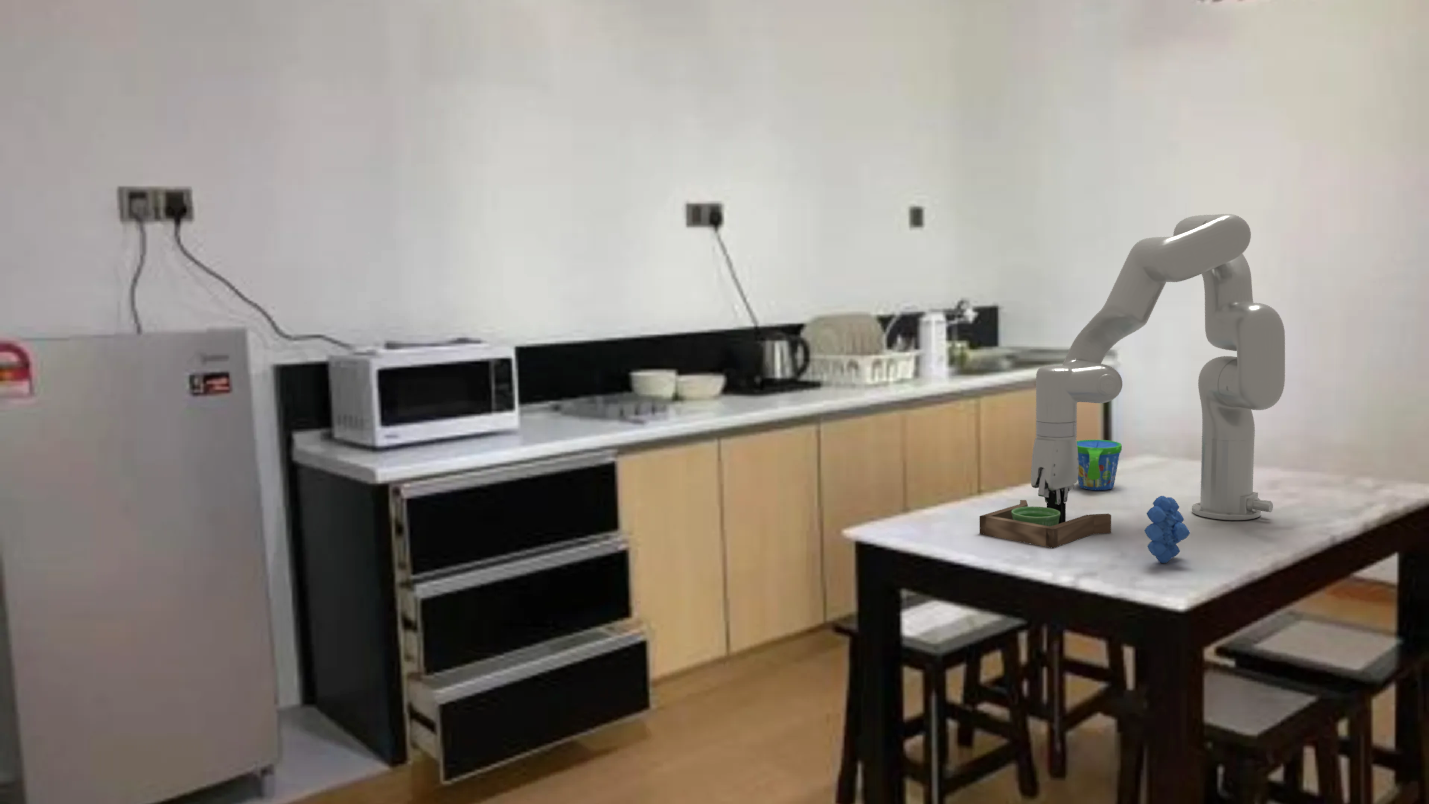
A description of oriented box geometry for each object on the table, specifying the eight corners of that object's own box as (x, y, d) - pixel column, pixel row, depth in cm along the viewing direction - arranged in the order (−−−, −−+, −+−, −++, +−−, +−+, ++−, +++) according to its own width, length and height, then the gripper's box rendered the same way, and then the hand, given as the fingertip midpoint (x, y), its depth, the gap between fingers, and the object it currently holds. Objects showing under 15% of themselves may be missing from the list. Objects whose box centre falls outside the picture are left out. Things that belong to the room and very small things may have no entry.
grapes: (1175, 575, 188) (1176, 504, 186) (1135, 568, 193) (1136, 498, 191) (1202, 559, 196) (1204, 491, 195) (1163, 553, 201) (1165, 486, 199)
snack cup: (1114, 496, 246) (1115, 450, 245) (1064, 493, 251) (1065, 447, 250) (1126, 482, 260) (1127, 438, 259) (1079, 479, 265) (1079, 436, 264)
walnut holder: (1112, 532, 216) (1113, 514, 216) (1062, 550, 205) (1063, 531, 205) (1022, 516, 231) (1022, 499, 231) (970, 532, 220) (970, 514, 220)
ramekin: (1056, 541, 211) (1056, 518, 211) (1007, 538, 215) (1007, 515, 214) (1063, 530, 219) (1063, 507, 219) (1015, 527, 223) (1015, 505, 222)
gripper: (1060, 423, 227) (1060, 513, 229) (1017, 433, 217) (1017, 526, 219) (1094, 426, 221) (1094, 518, 223) (1051, 436, 211) (1051, 533, 214)
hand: (1056, 522), depth 221 cm, fingers closed
